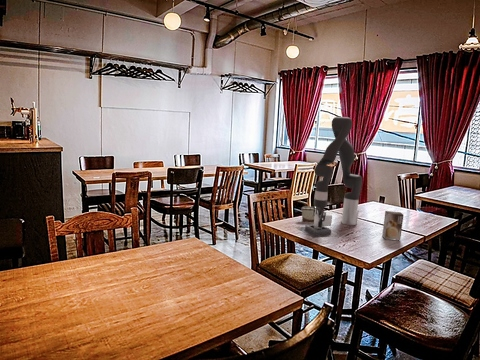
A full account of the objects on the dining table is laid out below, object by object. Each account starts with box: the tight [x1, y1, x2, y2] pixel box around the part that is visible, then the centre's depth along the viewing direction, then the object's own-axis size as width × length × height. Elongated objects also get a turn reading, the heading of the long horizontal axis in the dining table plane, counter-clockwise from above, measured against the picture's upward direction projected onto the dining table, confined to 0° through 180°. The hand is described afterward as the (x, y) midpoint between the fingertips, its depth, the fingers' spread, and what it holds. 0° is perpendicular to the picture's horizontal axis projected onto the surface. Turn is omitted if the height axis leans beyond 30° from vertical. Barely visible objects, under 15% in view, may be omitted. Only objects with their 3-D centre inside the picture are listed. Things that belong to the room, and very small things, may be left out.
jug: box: [313, 213, 333, 230], centre depth 223 cm, size 11×5×10 cm, turn 101°
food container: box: [300, 205, 314, 223], centre depth 245 cm, size 12×6×10 cm, turn 84°
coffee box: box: [382, 210, 404, 241], centre depth 221 cm, size 9×6×16 cm
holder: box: [295, 224, 342, 239], centre depth 223 cm, size 20×20×4 cm
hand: (317, 225), depth 223 cm, fingers closed on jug, 5 cm apart
